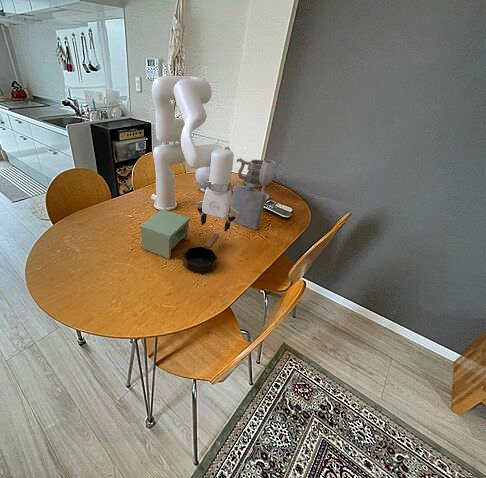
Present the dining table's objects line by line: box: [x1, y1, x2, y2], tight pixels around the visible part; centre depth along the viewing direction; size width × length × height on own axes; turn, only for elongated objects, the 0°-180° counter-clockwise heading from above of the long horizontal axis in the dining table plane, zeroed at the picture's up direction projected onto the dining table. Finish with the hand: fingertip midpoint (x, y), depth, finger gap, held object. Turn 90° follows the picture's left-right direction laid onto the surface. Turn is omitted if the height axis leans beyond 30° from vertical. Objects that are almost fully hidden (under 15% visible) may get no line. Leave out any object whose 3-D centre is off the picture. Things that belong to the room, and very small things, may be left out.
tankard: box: [235, 157, 264, 189], centre depth 163 cm, size 20×13×15 cm, turn 66°
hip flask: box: [230, 183, 268, 231], centre depth 119 cm, size 16×4×20 cm, turn 47°
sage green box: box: [139, 210, 191, 259], centre depth 107 cm, size 14×16×11 cm
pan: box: [182, 233, 220, 274], centre depth 102 cm, size 12×22×5 cm, turn 150°
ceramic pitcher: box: [195, 146, 232, 193], centre depth 151 cm, size 22×20×25 cm
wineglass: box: [259, 159, 276, 201], centre depth 143 cm, size 9×9×21 cm
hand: (214, 226), depth 102 cm, fingers open, 9 cm apart
